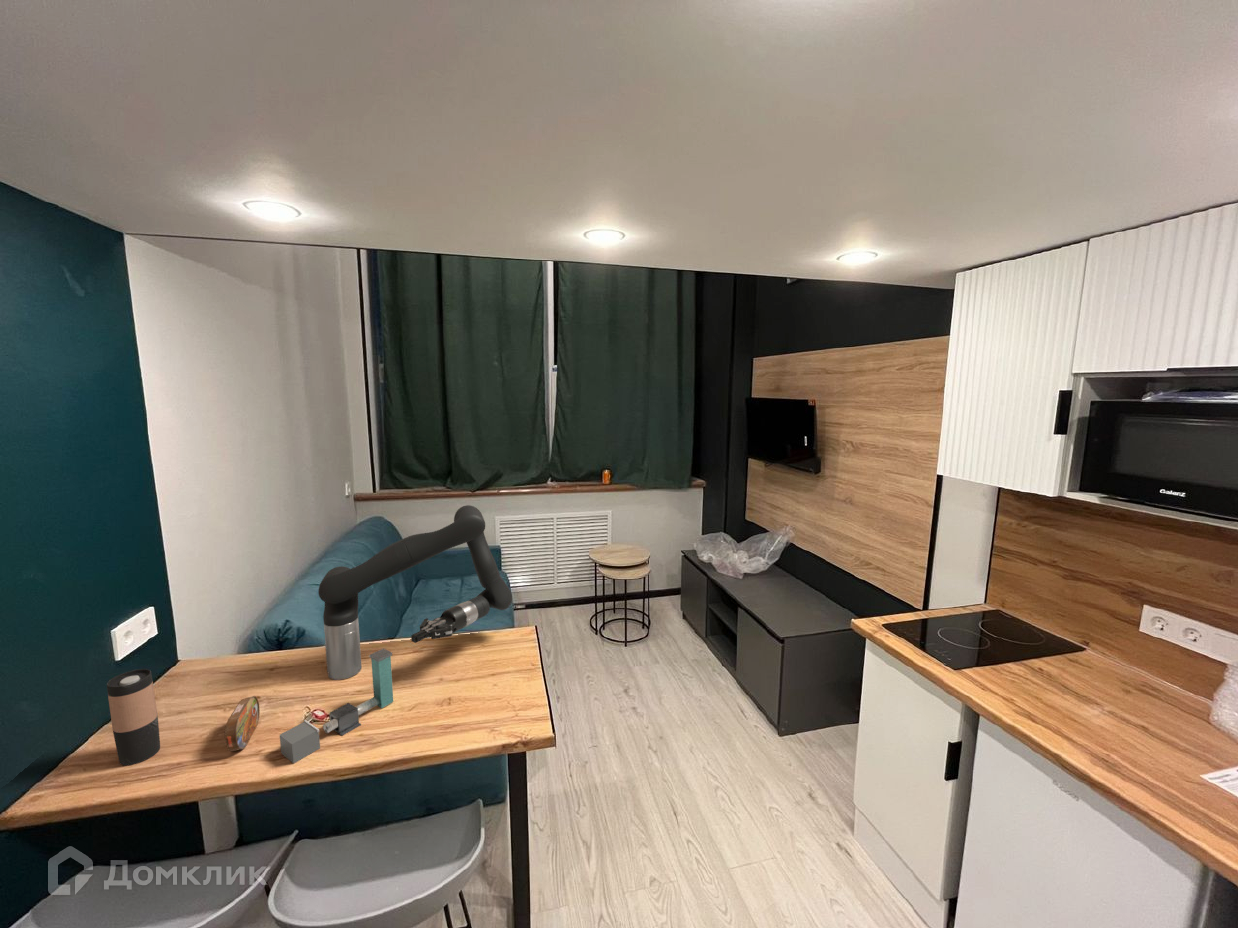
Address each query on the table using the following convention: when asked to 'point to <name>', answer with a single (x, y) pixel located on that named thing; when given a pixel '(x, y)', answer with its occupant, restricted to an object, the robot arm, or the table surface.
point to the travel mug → (134, 716)
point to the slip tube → (374, 686)
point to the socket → (299, 741)
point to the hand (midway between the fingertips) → (413, 639)
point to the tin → (242, 723)
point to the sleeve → (345, 718)
